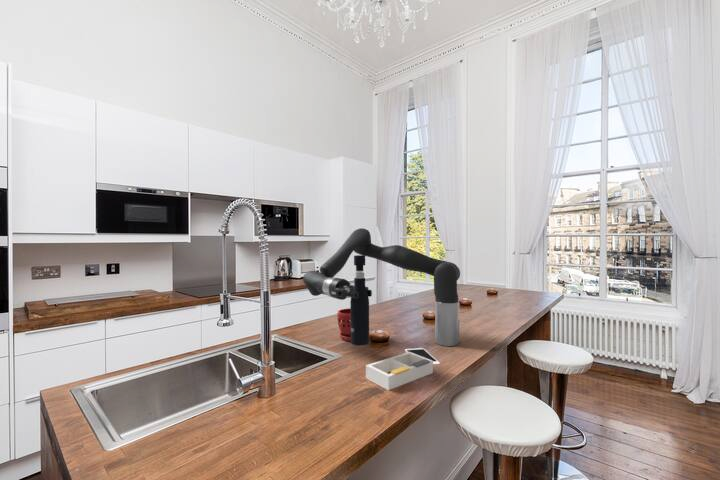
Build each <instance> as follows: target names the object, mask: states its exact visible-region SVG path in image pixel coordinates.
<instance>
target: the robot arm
mask: <svg viewBox="0 0 720 480" xmlns="http://www.w3.org/2000/svg"><path fill="white" fill-rule="evenodd" d="M353 252H354V253H355V254H356V255H364V256H365V257H368V258H372V259H376V260H378V261H382V262H385V263H387V264H389V265H390V264H391V265H392V266H394V267H398V268H400V269H403V270H405V271H406V270H407V271H412V272H419V273H423V274H427V275H430V276H432V277H433V293H434V296H435V297H434V298H435V302H434V306H435V307H434V308H435V309H434V310H435V314H434V315H435V316H434V317H435V318H434V321H435V323H434V329H435V331H434V332H435V333H434V342H435V343H436V344H437V345H440V346H445V347H452V346H457V345H458V344H459V343H460V318H459V294H458V280H459V279H460V277H461V271H460V268H459V267H458V266H457V264H455V263H453V262H452V261H446V260H443V259H438V258H434V257H430V256H429V255H426V254H423V253H422V252H421V253H420V252H419V251H416V250H413V249H412V248H411V249H410V248H409V247H405V246H402V245H388V246H379V245H377V244H374V243H372V237H371V233H370V231H369V230H368V229H366V228H357V229H355V230H354V231H352V232H351V233H350V235H349V236H348V237H347V239H346V240H345V241H344V242H343V244H342V245H341V246H340V247H339V249H338V250H337V251H336V252H335V253H334V254H332V256H331V257H330V258H328V259H327V260H326V261H325V262H324V263H323V264H322V265H321V266H320V267H319V271H318V270H309V271H306V272H305V273H304V275H303V278H302V281H303V282H302V283H304V285H305V287H306V289H307V290H308V292H309V293H310V294H311V295H312V296H314V297H315V296H316V297H317V296H321V295H324V296H328V297H330V298H333V299H336V300H341V301H343V300H344V301H345V300H346V299H349V298H350V299H351V297H352V298H355V299H358V298H359V293H358V292H356V291H353V288H354V284H351V282H350V281H348V280H347V279H344V278H339V277H335V276H336V275H337V274H338V273H340V271H342V269H343V268H344V266H345V265H346V263H348V260H349V258H350V257H351V255H352V253H353ZM365 287H366V290H367V293H368V297H369V298H370V297H372V296H373V292H372V289H369V287H368V286H366V285H365Z"/></svg>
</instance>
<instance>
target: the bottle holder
mask: <svg viewBox="0 0 720 480" xmlns="http://www.w3.org/2000/svg"><path fill="white" fill-rule="evenodd" d="M433 373H434V365H433V361H432V360H430V359H427V358H425V357H422V356H419V355H417V354H414V353H411V352H405V353H404V352H403V353H401V354H398V355H395V356H391V357H387V358H385V359H382V360H378V361H374V362H372V363H369V364H366V365H365V379H367V380H368V381H371V382H373V383H374V384H376V385H378V386H380V387H382V388H383V389H385V390H388V391H390V390H393V389H396V388H398V387H401V386H403V385H406V384H408V383H410V382H413V381H417V380H418V379H421V378H423V377H426V376H428V375H432V374H433Z"/></svg>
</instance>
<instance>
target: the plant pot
mask: <svg viewBox="0 0 720 480" xmlns="http://www.w3.org/2000/svg"><path fill="white" fill-rule="evenodd" d="M336 316H337V325H338V328H339V331H340V332H339V337H340V338H341V339H342V340H344V341H347V342H348V341H349V342H351V309H350V308H342V309H340V310H337V315H336Z"/></svg>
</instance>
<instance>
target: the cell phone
mask: <svg viewBox="0 0 720 480" xmlns="http://www.w3.org/2000/svg"><path fill="white" fill-rule="evenodd" d="M404 351H405V353H407V352H411V353H414V354H417V355H419V356H422V357H425V358H427V359H430V360H432V361H433V366H435V365H440V364H441V362H439V360H437V359H436V358H435V357H434V356H432V354H430V353H429V351H427V350H426V349H425V348H424V347H417V348H416V347H415V348H404Z"/></svg>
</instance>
